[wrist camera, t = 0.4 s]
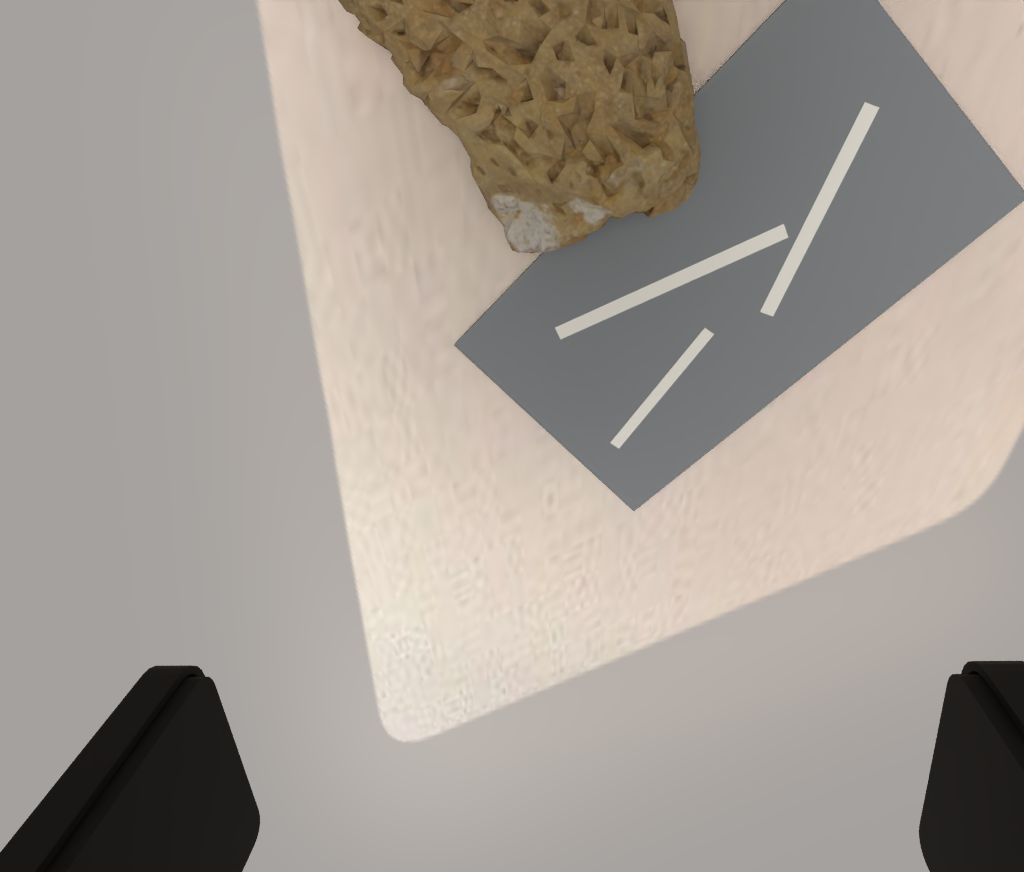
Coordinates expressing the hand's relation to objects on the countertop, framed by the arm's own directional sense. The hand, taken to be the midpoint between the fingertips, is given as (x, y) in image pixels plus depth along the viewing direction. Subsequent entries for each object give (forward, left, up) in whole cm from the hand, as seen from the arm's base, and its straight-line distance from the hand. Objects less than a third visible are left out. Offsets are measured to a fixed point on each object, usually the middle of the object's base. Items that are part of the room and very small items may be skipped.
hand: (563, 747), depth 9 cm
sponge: (-6, -11, -29) cm, 32 cm away
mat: (-5, +5, -29) cm, 30 cm away
